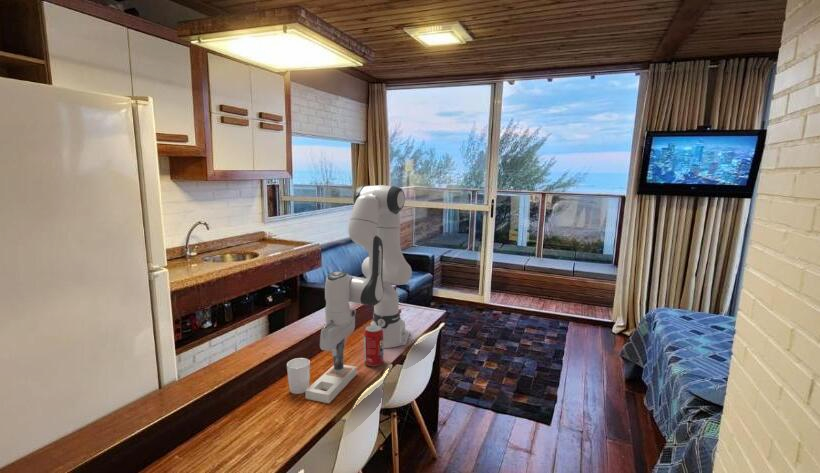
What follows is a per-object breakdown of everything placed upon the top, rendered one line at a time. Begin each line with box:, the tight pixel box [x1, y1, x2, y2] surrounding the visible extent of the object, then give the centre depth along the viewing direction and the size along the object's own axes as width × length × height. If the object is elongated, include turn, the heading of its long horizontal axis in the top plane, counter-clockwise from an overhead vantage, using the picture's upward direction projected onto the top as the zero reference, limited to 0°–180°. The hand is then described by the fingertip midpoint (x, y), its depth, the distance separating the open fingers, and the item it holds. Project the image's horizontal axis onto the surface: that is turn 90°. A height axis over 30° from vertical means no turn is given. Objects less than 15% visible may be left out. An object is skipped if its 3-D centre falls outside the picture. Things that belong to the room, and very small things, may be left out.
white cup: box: [286, 357, 311, 395], centre depth 144 cm, size 8×8×10 cm
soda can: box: [363, 324, 385, 367], centre depth 164 cm, size 8×8×15 cm
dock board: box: [305, 364, 358, 404], centre depth 147 cm, size 21×9×3 cm, turn 161°
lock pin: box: [333, 339, 345, 370], centre depth 150 cm, size 4×4×11 cm
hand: (338, 352), depth 150 cm, fingers closed on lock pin, 4 cm apart
